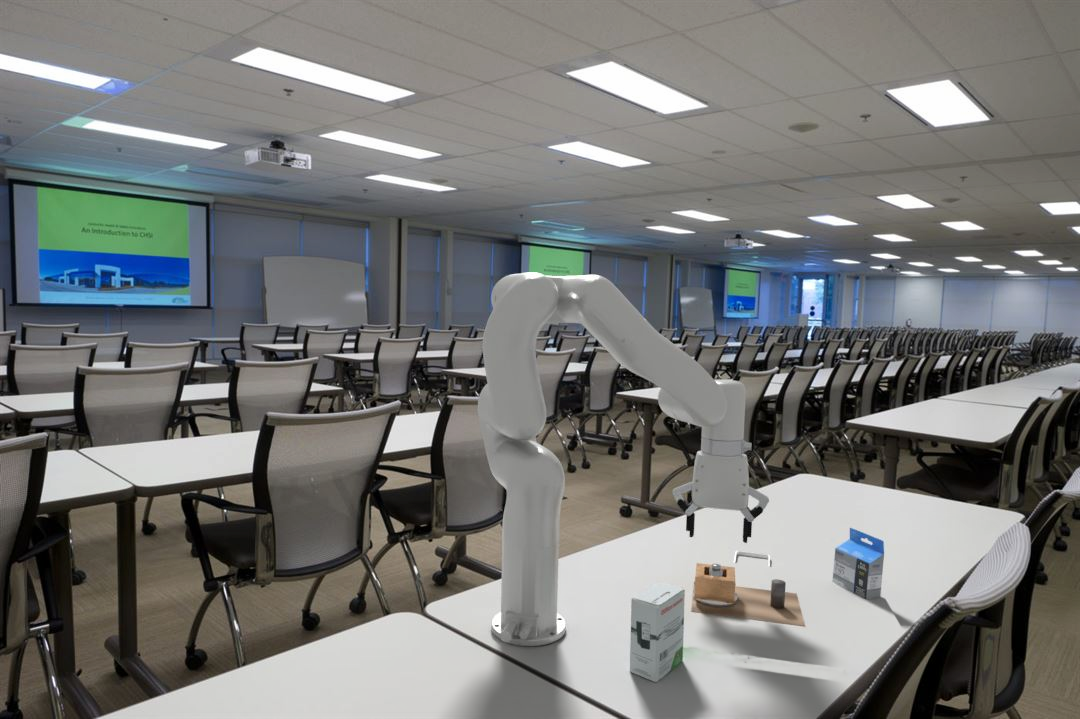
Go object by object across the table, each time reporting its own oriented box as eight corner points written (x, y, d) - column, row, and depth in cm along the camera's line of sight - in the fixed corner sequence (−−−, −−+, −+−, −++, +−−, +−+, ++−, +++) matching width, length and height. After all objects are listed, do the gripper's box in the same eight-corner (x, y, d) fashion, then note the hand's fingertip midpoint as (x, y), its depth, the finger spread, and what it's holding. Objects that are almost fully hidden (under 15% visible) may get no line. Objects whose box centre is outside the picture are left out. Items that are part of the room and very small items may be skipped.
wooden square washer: (734, 603, 126) (735, 581, 125) (694, 598, 127) (695, 576, 127) (733, 588, 132) (734, 567, 132) (695, 583, 134) (696, 563, 134)
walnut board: (804, 634, 120) (806, 600, 119) (690, 619, 124) (692, 586, 124) (796, 601, 133) (797, 570, 133) (693, 588, 138) (695, 558, 137)
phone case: (735, 556, 158) (731, 580, 144) (735, 550, 158) (731, 574, 144) (769, 560, 156) (769, 586, 141) (770, 554, 155) (769, 579, 141)
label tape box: (830, 588, 140) (834, 528, 139) (846, 586, 141) (850, 526, 140) (865, 607, 131) (869, 543, 130) (882, 604, 133) (886, 541, 132)
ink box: (656, 650, 113) (659, 579, 112) (684, 661, 110) (687, 587, 109) (627, 672, 106) (630, 596, 105) (655, 684, 103) (658, 605, 102)
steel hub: (737, 610, 125) (739, 575, 125) (691, 604, 127) (693, 570, 127) (736, 592, 133) (738, 560, 132) (693, 587, 135) (694, 555, 134)
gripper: (770, 446, 131) (765, 536, 132) (675, 439, 135) (672, 526, 137) (772, 454, 123) (767, 549, 125) (672, 447, 128) (669, 539, 129)
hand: (718, 537), depth 131 cm, fingers open, 9 cm apart
